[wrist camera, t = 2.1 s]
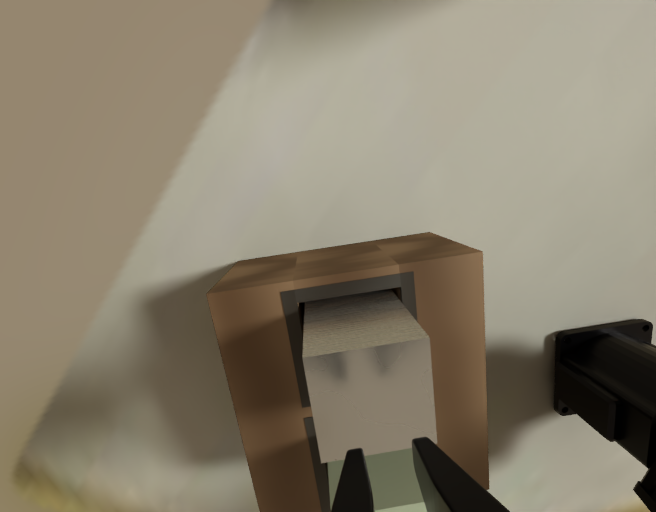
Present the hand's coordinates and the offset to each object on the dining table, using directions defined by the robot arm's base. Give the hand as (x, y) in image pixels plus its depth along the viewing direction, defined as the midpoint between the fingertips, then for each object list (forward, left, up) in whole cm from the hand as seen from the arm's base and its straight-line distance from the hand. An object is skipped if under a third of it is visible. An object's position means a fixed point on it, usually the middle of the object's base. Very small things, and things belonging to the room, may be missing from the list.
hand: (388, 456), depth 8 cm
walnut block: (0, +3, -12) cm, 12 cm away
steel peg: (0, 0, -8) cm, 8 cm away
